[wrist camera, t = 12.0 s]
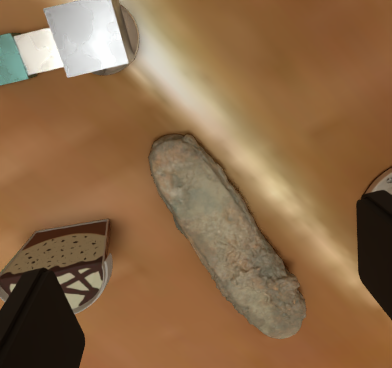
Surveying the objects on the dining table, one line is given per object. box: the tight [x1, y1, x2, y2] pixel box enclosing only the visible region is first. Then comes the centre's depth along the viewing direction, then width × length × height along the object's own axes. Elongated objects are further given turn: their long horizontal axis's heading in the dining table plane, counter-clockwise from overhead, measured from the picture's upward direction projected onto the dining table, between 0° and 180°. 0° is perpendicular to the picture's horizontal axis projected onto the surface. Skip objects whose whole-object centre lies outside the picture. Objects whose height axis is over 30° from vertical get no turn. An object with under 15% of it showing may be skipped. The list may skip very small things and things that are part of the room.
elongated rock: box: [148, 134, 306, 339], centre depth 45 cm, size 35×5×10 cm
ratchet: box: [0, 5, 139, 85], centre depth 32 cm, size 16×7×7 cm, turn 102°
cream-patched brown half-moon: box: [0, 219, 112, 314], centre depth 40 cm, size 12×6×10 cm, turn 99°
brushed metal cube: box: [43, 0, 135, 77], centre depth 30 cm, size 5×5×6 cm
